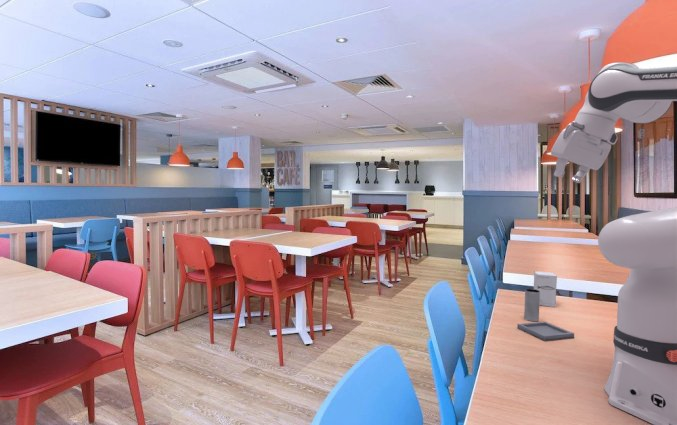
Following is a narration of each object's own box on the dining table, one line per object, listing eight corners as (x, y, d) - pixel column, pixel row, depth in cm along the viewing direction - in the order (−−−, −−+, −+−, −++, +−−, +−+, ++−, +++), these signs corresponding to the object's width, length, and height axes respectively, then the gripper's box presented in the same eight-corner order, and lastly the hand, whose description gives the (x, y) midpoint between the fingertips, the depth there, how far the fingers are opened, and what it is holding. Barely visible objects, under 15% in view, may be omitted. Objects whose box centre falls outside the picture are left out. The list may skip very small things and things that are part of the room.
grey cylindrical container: (540, 322, 126) (541, 292, 126) (526, 321, 127) (527, 291, 127) (536, 318, 131) (537, 289, 130) (522, 317, 132) (523, 288, 131)
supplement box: (534, 305, 147) (535, 273, 146) (532, 300, 153) (534, 270, 153) (556, 307, 144) (557, 275, 143) (553, 302, 150) (554, 272, 150)
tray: (574, 338, 112) (574, 333, 112) (544, 341, 109) (544, 336, 109) (545, 325, 122) (545, 321, 122) (517, 328, 120) (517, 323, 120)
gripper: (583, 122, 87) (557, 177, 91) (620, 140, 98) (596, 188, 102) (558, 117, 92) (535, 169, 96) (596, 134, 103) (573, 181, 107)
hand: (566, 179), depth 99 cm, fingers open, 8 cm apart
